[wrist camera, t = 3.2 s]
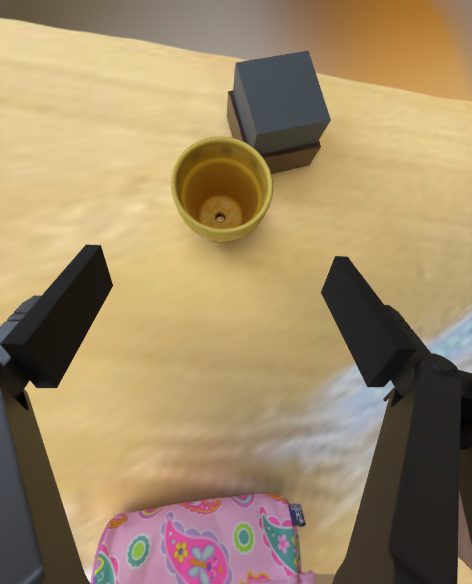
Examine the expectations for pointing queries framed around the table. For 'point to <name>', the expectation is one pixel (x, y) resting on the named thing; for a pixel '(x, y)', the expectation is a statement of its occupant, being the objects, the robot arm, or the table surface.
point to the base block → (277, 159)
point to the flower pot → (221, 188)
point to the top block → (280, 102)
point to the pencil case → (205, 543)
